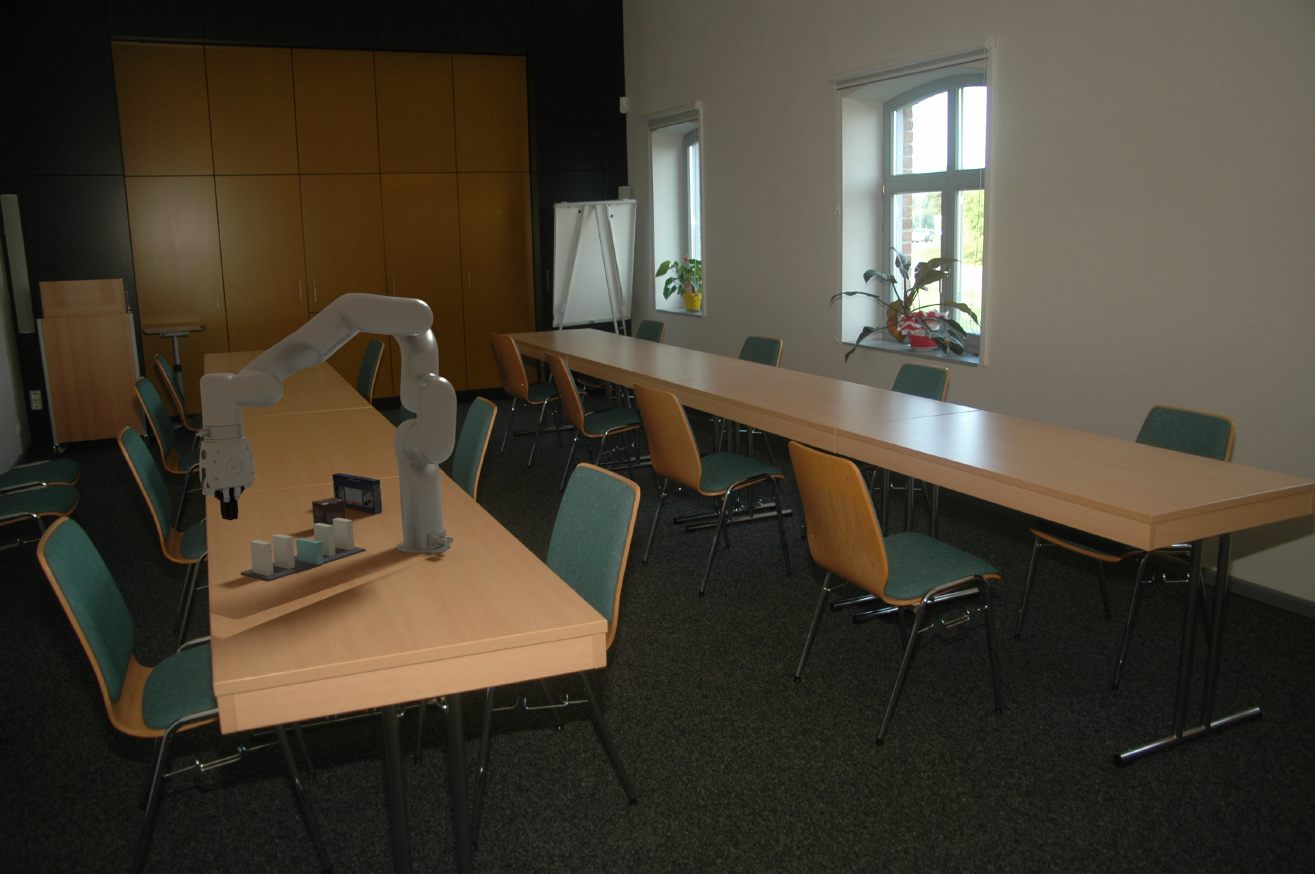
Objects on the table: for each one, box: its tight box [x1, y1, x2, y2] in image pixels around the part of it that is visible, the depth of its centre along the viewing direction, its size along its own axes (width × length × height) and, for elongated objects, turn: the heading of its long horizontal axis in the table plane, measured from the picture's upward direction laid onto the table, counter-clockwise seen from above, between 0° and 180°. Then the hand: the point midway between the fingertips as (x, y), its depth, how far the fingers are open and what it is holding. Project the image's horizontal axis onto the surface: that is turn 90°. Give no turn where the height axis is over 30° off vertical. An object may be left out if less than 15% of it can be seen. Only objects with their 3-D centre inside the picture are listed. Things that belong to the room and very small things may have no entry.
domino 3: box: [312, 523, 335, 556], centre depth 216 cm, size 2×5×7 cm, turn 58°
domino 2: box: [271, 533, 295, 569], centre depth 207 cm, size 2×5×7 cm, turn 58°
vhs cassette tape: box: [332, 472, 383, 516], centre depth 259 cm, size 18×3×10 cm, turn 53°
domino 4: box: [333, 518, 355, 550], centre depth 221 cm, size 2×5×7 cm, turn 58°
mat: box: [240, 546, 366, 582], centre depth 212 cm, size 10×26×1 cm, turn 148°
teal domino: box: [295, 537, 324, 566], centre depth 211 cm, size 2×5×7 cm
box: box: [311, 496, 347, 525], centre depth 241 cm, size 6×6×7 cm
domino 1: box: [249, 539, 274, 576], centre depth 202 cm, size 2×5×7 cm, turn 58°
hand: (230, 518), depth 195 cm, fingers closed
